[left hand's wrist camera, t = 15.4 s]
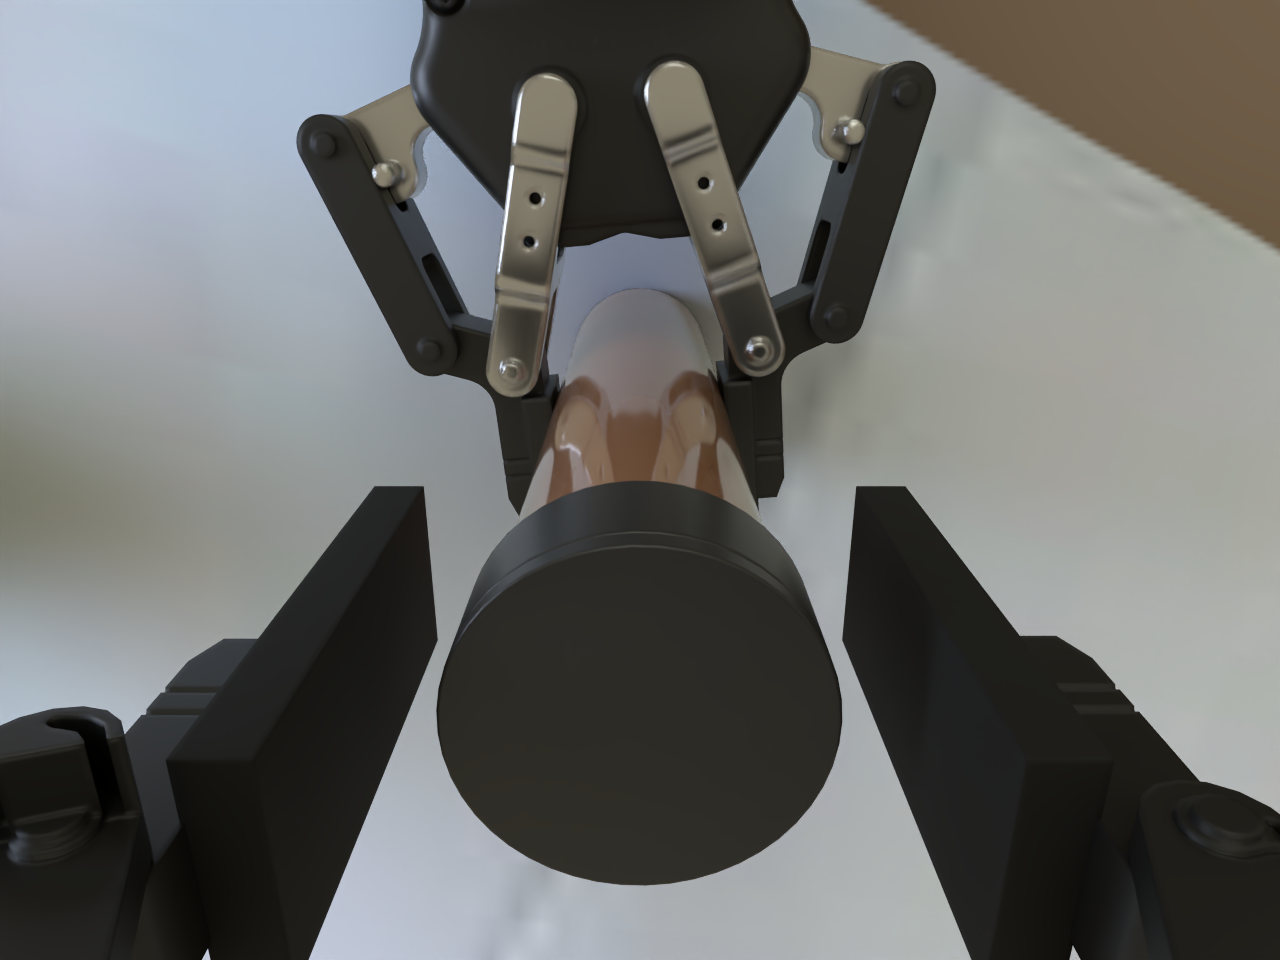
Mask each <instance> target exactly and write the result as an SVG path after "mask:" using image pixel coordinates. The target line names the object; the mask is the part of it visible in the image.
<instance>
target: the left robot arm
mask: <svg viewBox="0 0 1280 960" xmlns="http://www.w3.org/2000/svg"><path fill="white" fill-rule="evenodd" d="M437 641H438V638H437V627H436V616H435V605H434V594H433V583H432V572H431V561H430V550H429V539H428V528H427V517H426V507H425V496H424V486H375V487H374V488H373V489H372V491H371V492H370V493H369V494H368V496H367V497H366V498H365V500H364V501H363V502H362V504H361V505H360V506H359V508H358V509H357V510H356V511H355V513H354V514H353V515H352V517H351V518H350V519H349V521H348V522H347V523H346V525H345V526H344V527H343V528H342V530H341V531H340V532H339V534H338V535H337V536H336V538H335V539H334V540H333V542H332V543H331V544H330V545H329V547H328V548H327V549H326V551H325V552H324V553H323V555H322V556H321V557H320V559H319V560H318V561H317V562H316V564H315V565H314V566H313V568H312V569H311V570H310V572H309V573H308V574H307V576H306V577H305V578H304V579H303V581H302V582H301V583H300V585H299V586H298V587H297V589H296V590H295V591H294V593H293V594H292V595H291V596H290V598H289V599H288V600H287V602H286V603H285V604H284V606H283V607H282V608H281V610H280V611H279V612H278V613H277V615H276V616H275V617H274V619H273V620H272V621H271V623H270V624H269V625H268V627H267V628H266V629H265V630H264V632H263V633H262V634H261V636H260V637H259V638H258V639H223V640H222V641H220V642H218V643H217V644H215V645H214V646H212V647H210V648H209V649H207V650H205V651H204V652H202V653H201V654H199V655H197V656H196V657H194V658H193V659H191V660H189V661H188V662H187V663H186V664H185V666H184V667H183V668H182V669H181V670H180V671H179V673H178V674H177V675H176V676H175V677H174V678H173V679H172V681H171V682H170V683H169V684H168V685H167V686H166V690H165V693H160V694H159V696H158V697H157V698H156V699H155V700H154V701H153V703H152V704H151V705H150V706H149V707H148V708H147V713H146V715H141V716H140V718H139V719H138V720H137V721H136V722H135V723H134V724H133V726H132V727H131V728H130V729H129V730H128V731H127V733H126V734H125V735H124V731H123V727H122V723H121V720H119V719H118V718H117V717H115V716H114V715H113V714H111V713H110V712H109V711H107V710H102V709H96V708H90V707H85V706H82V707H69V708H57V709H50V710H46V711H43V712H39V713H35V714H31V715H27V716H23V717H19V718H17V719H15V720H12V721H10V722H8V723H5V724H3V725H1V726H0V960H202V958H203V956H204V955H205V953H206V951H207V949H208V950H209V955H210V959H211V960H309V957H310V955H311V952H312V950H313V947H314V945H315V942H316V940H317V937H318V935H319V932H320V930H321V927H322V925H323V923H324V920H325V918H326V915H327V913H328V910H329V908H330V905H331V903H332V900H333V898H334V895H335V893H336V890H337V888H338V885H339V883H340V880H341V878H342V876H343V873H344V871H345V868H346V866H347V863H348V861H349V858H350V856H351V853H352V851H353V848H354V846H355V843H356V841H357V838H358V836H359V833H360V831H361V829H362V826H363V824H364V821H365V819H366V816H367V814H368V811H369V809H370V806H371V804H372V801H373V799H374V796H375V794H376V791H377V789H378V786H379V784H380V782H381V779H382V777H383V774H384V772H385V769H386V767H387V764H388V762H389V759H390V757H391V754H392V752H393V749H394V747H395V744H396V742H397V739H398V737H399V735H400V732H401V730H402V727H403V725H404V722H405V720H406V717H407V715H408V712H409V710H410V707H411V705H412V702H413V700H414V697H415V695H416V692H417V690H418V688H419V685H420V683H421V680H422V678H423V675H424V673H425V670H426V668H427V665H428V663H429V660H430V658H431V655H432V653H433V650H434V648H435V645H436V643H437ZM842 641H843V643H844V645H845V648H846V650H847V653H848V655H849V658H850V660H851V663H852V665H853V668H854V670H855V673H856V675H857V678H858V680H859V683H860V685H861V688H862V690H863V692H864V695H865V697H866V700H867V702H868V705H869V707H870V710H871V712H872V715H873V717H874V720H875V722H876V725H877V727H878V730H879V732H880V735H881V737H882V739H883V742H884V744H885V747H886V749H887V752H888V754H889V757H890V759H891V762H892V764H893V767H894V769H895V772H896V774H897V777H898V779H899V782H900V784H901V786H902V789H903V791H904V794H905V796H906V799H907V801H908V804H909V806H910V809H911V811H912V814H913V816H914V819H915V821H916V824H917V826H918V829H919V831H920V833H921V836H922V838H923V841H924V843H925V846H926V848H927V851H928V853H929V856H930V858H931V861H932V863H933V866H934V868H935V871H936V873H937V876H938V878H939V880H940V883H941V885H942V888H943V890H944V893H945V895H946V898H947V900H948V903H949V905H950V908H951V910H952V913H953V915H954V918H955V920H956V923H957V925H958V927H959V930H960V932H961V935H962V937H963V940H964V942H965V945H966V947H967V950H968V952H969V955H970V957H971V960H1069V959H1070V955H1071V950H1072V946H1074V948H1075V950H1076V952H1077V954H1078V956H1079V957H1080V959H1081V960H1280V814H1279V813H1277V812H1276V811H1275V810H1273V809H1272V808H1271V807H1269V806H1267V805H1265V804H1263V803H1261V802H1259V801H1257V800H1255V799H1253V798H1251V797H1249V796H1247V795H1245V794H1243V793H1241V792H1238V791H1235V790H1231V789H1228V788H1225V787H1221V786H1218V785H1214V784H1211V783H1208V782H1200V781H1199V780H1198V779H1197V778H1196V777H1195V775H1194V774H1193V773H1192V772H1191V771H1190V770H1189V768H1188V767H1187V766H1186V765H1185V764H1184V763H1183V762H1182V760H1181V759H1180V758H1179V757H1178V756H1177V755H1176V754H1175V752H1174V751H1173V750H1172V749H1171V748H1170V747H1169V746H1168V744H1167V743H1166V742H1165V741H1164V740H1163V739H1162V738H1161V736H1160V735H1159V734H1158V733H1157V732H1156V731H1155V730H1154V728H1153V727H1152V726H1151V725H1150V724H1149V723H1148V721H1147V720H1146V719H1145V718H1144V717H1143V716H1142V715H1141V713H1140V712H1135V711H1134V705H1133V704H1132V703H1131V702H1130V701H1129V700H1128V699H1127V697H1126V696H1125V695H1124V694H1123V693H1122V692H1121V691H1120V690H1116V689H1115V684H1114V682H1113V681H1112V680H1111V679H1110V678H1109V677H1108V676H1107V674H1106V673H1105V672H1104V671H1103V670H1102V669H1101V668H1100V666H1099V665H1098V664H1097V663H1096V662H1095V661H1094V660H1093V658H1091V657H1090V656H1088V655H1086V654H1085V653H1083V652H1081V651H1080V650H1078V649H1077V648H1075V647H1073V646H1072V645H1070V644H1069V643H1067V642H1065V641H1064V640H1062V639H1060V638H1059V637H1057V636H1019V634H1018V633H1017V632H1016V630H1015V629H1014V628H1013V627H1012V625H1011V624H1010V623H1009V621H1008V620H1007V619H1006V617H1005V616H1004V615H1003V613H1002V612H1001V611H1000V610H999V608H998V607H997V606H996V604H995V603H994V602H993V600H992V599H991V598H990V596H989V595H988V594H987V593H986V591H985V590H984V589H983V587H982V586H981V585H980V583H979V582H978V581H977V579H976V578H975V577H974V576H973V574H972V573H971V572H970V570H969V569H968V568H967V566H966V565H965V564H964V562H963V561H962V560H961V559H960V557H959V556H958V555H957V553H956V552H955V551H954V549H953V548H952V547H951V545H950V544H949V543H948V542H947V540H946V539H945V538H944V536H943V535H942V534H941V532H940V531H939V530H938V528H937V527H936V526H935V525H934V523H933V522H932V521H931V519H930V518H929V517H928V515H927V514H926V513H925V511H924V510H923V509H922V508H921V506H920V505H919V504H918V502H917V501H916V500H915V498H914V497H913V496H912V494H911V493H910V492H909V491H908V489H907V488H906V487H905V486H856V496H855V507H854V517H853V528H852V539H851V550H850V561H849V572H848V583H847V594H846V605H845V616H844V627H843V638H842Z"/></svg>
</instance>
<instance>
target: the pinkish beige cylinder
mask: <svg viewBox="0 0 1280 960" xmlns="http://www.w3.org/2000/svg"><path fill="white" fill-rule="evenodd" d="M633 480H634V481H659V482H666V483H672V484H679V485H684V486H687V487H691V488H694V489H698V490H701V491H705V492H707V493H709V494H712V495H714V496H716V497H719V498H721V499H723V500H726V501H728V502H729V503H731V504H733V505H734V506H736V507H738V508H739V509H741V510H743V511H745V512H746V513H748V514H749V515H750V516H751V517H753V518H754V519H755V520H756V521H758V522H759V523H760V524H762V522H761V518H760V515H759V512H758V509H757V506H756V503H755V499H754V496H753V493H752V490H751V487H750V484H749V481H748V477H747V474H746V471H745V468H744V465H743V462H742V458H741V455H740V452H739V449H738V446H737V443H736V440H735V436H734V433H733V430H732V427H731V424H730V421H729V417H728V414H727V411H726V408H725V405H724V402H723V399H722V395H721V392H720V389H719V386H718V383H717V380H716V377H715V373H714V370H713V367H712V364H711V361H710V358H709V354H708V351H707V348H706V345H705V342H704V339H703V336H702V333H701V330H700V327H699V325H698V323H697V321H696V319H695V318H694V317H693V315H692V314H691V312H690V311H689V310H688V309H687V308H686V307H685V306H684V305H683V304H682V303H680V302H679V301H678V300H676V299H675V298H673V297H671V296H670V295H667V294H665V293H663V292H660V291H656V290H651V289H640V288H636V289H628V290H624V291H620V292H617V293H615V294H612V295H610V296H609V297H607V298H605V299H603V300H602V301H601V302H599V303H598V304H597V305H596V306H595V307H594V308H593V309H592V310H591V311H590V312H589V314H588V315H587V316H586V318H585V319H584V321H583V323H582V325H581V327H580V329H579V332H578V335H577V338H576V341H575V344H574V347H573V351H572V354H571V357H570V360H569V363H568V366H567V369H566V372H565V376H564V379H563V382H562V385H561V388H560V391H559V394H558V397H557V401H556V404H555V407H554V410H553V413H552V416H551V419H550V422H549V425H548V429H547V432H546V435H545V438H544V441H543V444H542V447H541V450H540V454H539V457H538V460H537V463H536V466H535V469H534V472H533V475H532V479H531V482H530V485H529V488H528V491H527V494H526V497H525V500H524V504H523V507H522V510H521V513H520V516H519V519H518V522H517V525H518V524H519V523H520V522H521V521H522V520H523V519H525V518H526V517H527V516H529V515H530V514H532V513H533V512H535V511H536V510H538V509H539V508H541V507H542V506H544V505H546V504H548V503H550V502H552V501H554V500H556V499H558V498H560V497H562V496H564V495H567V494H570V493H573V492H575V491H578V490H581V489H584V488H587V487H592V486H596V485H601V484H606V483H612V482H622V481H633ZM517 525H516V526H517Z"/></svg>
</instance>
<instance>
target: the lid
mask: <svg viewBox="0 0 1280 960" xmlns="http://www.w3.org/2000/svg"><path fill="white" fill-rule="evenodd" d="M436 712H437V730H438V737H439V742H440V746H441V751H442V755H443V758H444V761H445V763H446V766H447V769H448V771H449V774H450V777H451V778H452V780H453V782H454V784H455V786H456V788H457V789H458V791H459V793H460V795H461V797H462V798H463V799H464V801H465V802H466V803H467V805H468V806H469V807H470V809H471V810H472V811H473V813H474V814H475V815H476V816H477V817H478V818H479V819H480V820H481V821H482V822H483V823H484V824H485V825H486V826H487V827H488V829H489V830H490V831H492V832H493V833H494V834H495V835H497V836H498V837H499V838H500V839H502V840H503V841H504V842H505V843H507V844H508V845H509V846H511V847H512V848H514V849H515V850H517V851H519V852H520V853H522V854H523V855H525V856H527V857H528V858H530V859H532V860H534V861H536V862H539V863H541V864H543V865H545V866H547V867H549V868H551V869H554V870H557V871H560V872H563V873H566V874H569V875H571V876H575V877H579V878H583V879H588V880H592V881H596V882H603V883H611V884H619V885H658V884H670V883H676V882H681V881H687V880H692V879H696V878H700V877H703V876H707V875H710V874H714V873H717V872H720V871H722V870H724V869H727V868H729V867H732V866H734V865H737V864H739V863H741V862H743V861H745V860H746V859H748V858H750V857H752V856H754V855H756V854H757V853H759V852H761V851H762V850H764V849H765V848H766V847H768V846H769V845H771V844H772V843H774V842H775V841H776V840H778V839H779V838H780V837H781V836H783V835H784V834H785V833H786V832H787V831H788V830H789V829H790V828H791V827H792V826H794V825H795V824H796V823H797V822H798V820H799V819H800V818H801V817H802V816H803V815H804V813H805V812H806V811H807V810H808V809H809V808H810V806H811V805H812V803H813V802H814V800H815V799H816V797H817V796H818V794H819V793H820V791H821V789H822V788H823V786H824V784H825V782H826V780H827V777H828V775H829V773H830V771H831V769H832V767H833V764H834V760H835V757H836V753H837V750H838V746H839V742H840V735H841V727H842V698H841V693H840V687H839V682H838V677H837V674H836V671H835V668H834V665H833V662H832V659H831V657H830V654H829V651H828V648H827V646H826V643H825V640H824V637H823V635H822V632H821V629H820V627H819V624H818V621H817V618H816V616H815V613H814V610H813V608H812V605H811V602H810V599H809V597H808V594H807V591H806V588H805V586H804V583H803V580H802V578H801V576H800V574H799V572H798V570H797V568H796V566H795V564H794V563H793V561H792V559H791V558H790V556H789V555H788V553H787V552H786V551H785V549H784V548H783V547H782V545H781V544H780V542H779V541H778V540H777V539H776V538H775V537H774V536H773V535H772V534H771V533H770V532H769V531H768V530H767V529H766V528H765V527H764V526H763V525H762V524H760V523H759V522H758V521H756V520H755V519H754V518H753V517H751V516H750V515H749V514H748V513H746V512H745V511H743V510H741V509H739V508H738V507H736V506H734V505H733V504H731V503H729V502H728V501H726V500H723V499H721V498H719V497H716V496H714V495H712V494H709V493H707V492H705V491H701V490H698V489H694V488H691V487H687V486H684V485H679V484H672V483H666V482H659V481H634V480H633V481H622V482H612V483H606V484H601V485H596V486H592V487H587V488H584V489H581V490H578V491H575V492H573V493H570V494H567V495H564V496H562V497H560V498H558V499H556V500H554V501H552V502H550V503H548V504H546V505H544V506H542V507H541V508H539V509H538V510H536V511H535V512H533V513H532V514H530V515H529V516H527V517H526V518H525V519H523V520H522V521H521V522H520V523H519V524H518V525H517V526H515V527H514V528H513V529H512V530H511V531H510V532H509V533H508V534H507V535H506V536H505V537H504V538H503V539H502V541H501V542H500V543H499V544H498V545H497V547H496V548H495V549H494V550H493V551H492V553H491V555H490V556H489V558H488V560H487V561H486V563H485V564H484V566H483V568H482V569H481V572H480V574H479V576H478V579H477V581H476V583H475V586H474V588H473V591H472V593H471V596H470V599H469V601H468V604H467V607H466V609H465V612H464V615H463V617H462V620H461V623H460V626H459V628H458V631H457V634H456V636H455V639H454V642H453V644H452V647H451V650H450V653H449V655H448V658H447V661H446V663H445V666H444V670H443V673H442V677H441V681H440V685H439V690H438V700H437V710H436Z"/></svg>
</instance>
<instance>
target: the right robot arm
mask: <svg viewBox="0 0 1280 960" xmlns="http://www.w3.org/2000/svg"><path fill="white" fill-rule="evenodd" d="M422 1H423V23H422V31H421V36H420V41H419V44H418V47H417V50H416V53H415V55H414V58H413V62H412V66H411V74H410V82H411V84H409V85H407V86H405V87H403V88H401V89H399V90H397V91H395V92H393V93H391V94H389V95H386V96H384V97H382V98H380V99H378V100H376V101H374V102H372V103H370V104H368V105H366V106H364V107H361V108H359V109H357V110H355V111H353V112H351V113H349V114H347V115H344V116H338V115H326V114H319V115H314V116H311V117H309V118H308V119H306V120H305V121H304V122H303V123H302V125H301V126H300V128H299V130H298V133H297V149H298V152H299V155H300V157H301V159H302V161H303V163H304V165H305V166H306V168H307V170H308V172H309V174H310V176H311V178H312V180H313V182H314V184H315V186H316V187H317V189H318V191H319V193H320V195H321V197H322V199H323V201H324V203H325V205H326V207H327V209H328V210H329V212H330V214H331V216H332V218H333V220H334V222H335V224H336V226H337V228H338V230H339V231H340V233H341V235H342V237H343V239H344V241H345V243H346V245H347V247H348V249H349V251H350V252H351V254H352V256H353V258H354V260H355V262H356V264H357V266H358V268H359V270H360V272H361V274H362V275H363V277H364V279H365V281H366V283H367V285H368V287H369V289H370V291H371V293H372V295H373V296H374V298H375V300H376V302H377V304H378V306H379V308H380V310H381V312H382V314H383V316H384V317H385V319H386V321H387V323H388V325H389V327H390V329H391V331H392V333H393V335H394V337H395V339H396V340H397V342H398V344H399V346H400V348H401V350H402V352H403V354H404V356H405V358H406V360H407V361H408V363H409V364H410V366H411V367H412V368H413V369H414V370H416V371H417V372H419V373H420V374H423V375H426V376H439V375H442V374H447V375H451V376H455V377H459V378H463V379H467V380H470V381H473V382H475V383H477V384H479V385H481V386H482V387H483V388H484V389H485V390H487V392H488V393H489V394H490V396H491V397H492V399H493V401H494V404H495V408H496V415H497V422H498V429H499V435H500V442H501V449H502V456H503V460H504V469H505V475H506V483H507V490H508V496H509V500H510V502H511V503H512V505H513V507H514V508H515V510H516V512H517V513H518V515H519V516H520V513H521V510H522V507H523V504H524V500H525V497H526V494H527V491H528V488H529V485H530V482H531V479H532V475H533V472H534V469H535V466H536V463H537V460H538V457H539V454H540V450H541V447H542V444H543V441H544V438H545V435H546V432H547V429H548V425H549V422H550V419H551V416H552V413H553V410H554V407H555V404H556V401H557V397H558V394H559V391H560V385H559V377H558V374H555V375H549V369H548V361H547V356H548V351H549V345H550V338H551V332H552V326H553V320H554V313H555V307H556V301H557V294H558V289H559V284H560V280H561V275H562V270H563V264H564V258H565V252H566V247H573V246H585V245H591V244H593V243H596V242H599V241H601V240H604V239H607V238H609V237H612V236H615V235H617V234H620V233H632V234H637V235H643V236H648V237H653V238H659V239H664V238H675V237H686V236H689V238H690V241H691V244H692V247H693V249H694V252H695V255H696V258H697V261H698V264H699V266H700V269H701V272H702V275H703V277H704V280H705V283H706V286H707V289H708V292H709V294H710V297H711V300H712V303H713V306H714V309H715V312H716V315H717V317H718V320H719V323H720V326H721V329H722V332H723V346H724V361H716V369H717V383H718V386H719V389H720V392H721V395H722V399H723V402H724V405H725V408H726V411H727V414H728V417H729V421H730V424H731V427H732V430H733V433H734V436H735V440H736V443H737V446H738V449H739V452H740V455H741V458H742V462H743V465H744V468H745V471H746V474H747V477H748V481H749V484H750V487H751V490H752V493H753V496H754V499H755V503H756V506H757V509H758V512H759V507H758V498H768V497H777V494H778V492H779V489H780V487H781V484H782V481H783V479H784V459H783V429H782V398H781V380H782V375H783V373H784V370H785V368H786V367H787V365H788V364H789V363H790V361H791V360H792V359H793V358H795V357H796V356H797V355H799V354H801V353H803V352H805V351H807V350H810V349H812V348H814V347H816V346H819V345H821V344H823V343H825V342H828V343H833V344H836V343H843V342H845V341H848V340H849V339H851V338H852V337H854V336H855V335H856V334H857V333H858V331H859V330H860V328H861V326H862V324H863V321H864V318H865V314H866V311H867V308H868V305H869V302H870V299H871V296H872V293H873V289H874V286H875V283H876V280H877V277H878V274H879V271H880V268H881V264H882V261H883V258H884V255H885V252H886V249H887V246H888V243H889V239H890V236H891V233H892V230H893V227H894V224H895V221H896V218H897V215H898V211H899V208H900V205H901V202H902V199H903V196H904V193H905V190H906V186H907V183H908V180H909V177H910V174H911V171H912V168H913V165H914V161H915V158H916V155H917V152H918V149H919V146H920V143H921V140H922V136H923V133H924V130H925V127H926V124H927V121H928V118H929V115H930V111H931V108H932V105H933V102H934V99H935V94H936V84H935V79H934V77H933V75H932V73H931V71H930V70H929V69H928V68H927V67H926V66H924V65H923V64H921V63H919V62H916V61H903V62H895V63H891V64H888V65H882V64H878V63H874V62H871V61H867V60H863V59H859V58H855V57H851V56H848V55H844V54H840V53H836V52H832V51H828V50H824V49H821V48H817V47H813V46H811V44H810V38H809V34H808V31H807V28H806V26H805V24H804V21H803V20H802V18H801V17H800V15H799V13H798V11H797V9H796V8H795V6H794V4H793V1H792V0H422ZM797 95H798V96H800V97H802V98H803V99H804V100H805V101H806V102H807V103H808V104H809V106H810V108H811V110H812V113H813V119H814V124H813V131H812V138H813V143H814V146H815V148H816V150H817V151H818V152H819V154H820V155H822V156H823V157H824V158H826V159H829V160H832V161H833V162H832V166H831V169H830V173H829V176H828V180H827V183H826V186H825V190H824V193H823V197H822V200H821V204H820V207H819V211H818V214H817V217H816V221H815V224H814V228H813V231H812V235H811V238H810V242H809V245H808V248H807V252H806V255H805V259H804V262H803V266H802V269H801V273H800V276H799V280H798V283H797V286H795V287H793V288H791V289H789V290H787V291H784V292H782V293H780V294H778V295H776V296H774V297H771V298H770V296H769V293H768V290H767V287H766V284H765V281H764V278H763V274H762V271H761V265H760V261H759V257H758V254H757V250H756V247H755V244H754V241H753V238H752V235H751V232H750V229H749V226H748V223H747V220H746V217H745V214H744V210H743V207H742V204H741V201H740V198H739V195H738V191H739V189H740V188H741V186H742V184H743V183H744V181H745V179H746V178H747V176H748V174H749V173H750V171H751V169H752V168H753V166H754V165H755V163H756V161H757V160H758V158H759V156H760V155H761V153H762V151H763V150H764V148H765V147H766V145H767V143H768V142H769V140H770V138H771V137H772V135H773V133H774V132H775V130H776V129H777V127H778V125H779V124H780V122H781V120H782V119H783V117H784V115H785V114H786V112H787V111H788V109H789V107H790V106H791V104H792V102H793V101H794V99H795V97H796V96H797ZM432 130H434V131H435V132H436V134H437V135H438V136H439V137H440V138H441V139H442V140H443V142H444V143H445V144H446V145H447V146H448V147H449V148H450V149H451V151H452V152H453V153H454V154H455V155H456V156H457V157H458V159H459V160H460V161H461V162H462V163H463V164H464V165H465V166H466V168H467V169H468V170H469V171H470V172H471V173H472V174H473V176H474V177H475V178H476V179H477V180H478V181H479V182H480V183H481V185H482V186H483V187H484V188H485V189H486V190H487V191H488V193H489V194H490V195H491V196H492V197H493V198H494V199H495V200H496V202H497V203H498V204H499V205H500V206H501V207H502V208H503V210H504V216H503V224H502V231H501V239H500V246H499V254H498V261H497V269H496V277H495V293H496V297H495V306H494V313H493V321H491V320H487V319H483V318H480V317H476V316H472V315H470V314H469V312H468V310H467V308H466V306H465V304H464V302H463V300H462V298H461V296H460V294H459V292H458V290H457V288H456V286H455V284H454V282H453V280H452V278H451V275H450V273H449V271H448V269H447V267H446V265H445V263H444V261H443V259H442V257H441V255H440V253H439V251H438V249H437V247H436V245H435V243H434V241H433V239H432V237H431V235H430V233H429V230H428V228H427V226H426V224H425V222H424V220H423V218H422V216H421V214H420V212H419V210H418V208H417V206H416V204H415V202H414V200H413V198H415V197H416V196H418V195H419V194H420V193H421V192H422V191H423V189H424V187H425V185H426V182H427V168H426V165H425V162H424V159H423V145H424V142H425V139H426V138H427V136H428V135H429V133H430V132H431V131H432Z"/></svg>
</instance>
